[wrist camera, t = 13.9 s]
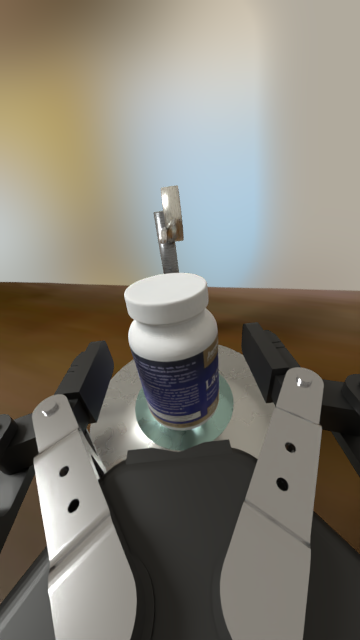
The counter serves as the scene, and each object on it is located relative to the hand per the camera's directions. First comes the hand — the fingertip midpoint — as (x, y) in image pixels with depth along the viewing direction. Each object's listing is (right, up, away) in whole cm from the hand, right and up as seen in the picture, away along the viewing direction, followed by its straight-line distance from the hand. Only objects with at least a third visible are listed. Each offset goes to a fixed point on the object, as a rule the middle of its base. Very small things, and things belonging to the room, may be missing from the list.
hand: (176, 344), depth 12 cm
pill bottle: (+1, -5, +5) cm, 7 cm away
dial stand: (0, -1, +15) cm, 15 cm away
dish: (+1, -7, +6) cm, 9 cm away
